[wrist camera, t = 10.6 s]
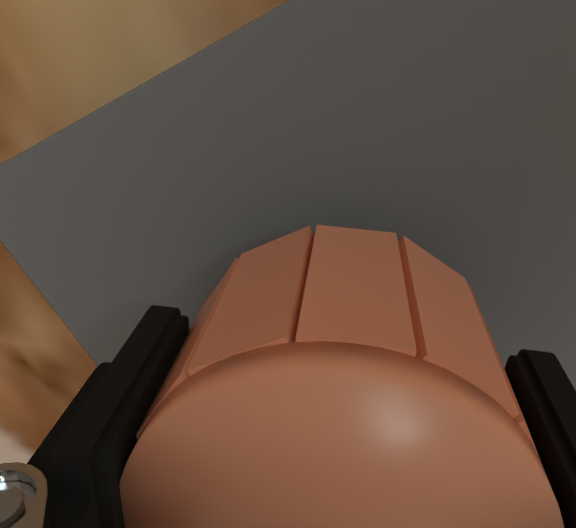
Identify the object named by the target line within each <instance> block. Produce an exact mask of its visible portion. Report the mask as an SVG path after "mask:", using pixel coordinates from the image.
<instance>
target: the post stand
mask: <svg viewBox="0 0 576 528" xmlns="http://www.w3.org/2000/svg"><path fill="white" fill-rule="evenodd" d="M317 225H325V226H335V227H344V228H354V229H364V230H373V231H383V232H393V233H397V239H398V241H399V240H400V239H401V238H402V237H403V236H405V237H407V238H408V239H409V240H411V241H412V242H414V243H415V244H417V245H418V246H420V247H421V248H422V249H424V250H425V251H427V252H428V253H430V254H431V255H433V256H434V257H435V258H437V259H438V260H440V261H441V262H443V263H444V264H446V265H447V266H449V267H450V268H451V269H453V270H454V271H456V272H457V273H459V274H460V275H462V276H463V277H464V278H465V279H466V281H467V284H469V283H470V286H471V288H472V291H473V293H474V296H475V298H476V301H477V303H478V306H479V308H480V311H481V313H482V315H483V318H484V320H485V323H486V325H487V328H488V330H489V333H490V335H491V338H492V340H493V343H494V345H495V348H496V350H497V353H498V355H499V357H500V360H501V362H502V365H503V367H504V368H505V365H506V362H507V360H508V358H509V356H510V355H517V354H518V352H519V351H520V350H522V349H527V350H536V351H544V352H551V353H554V354H555V356H556V357H557V359H558V360H559V362H560V364H561V366H562V368H563V369H564V371H565V373H566V375H567V376H568V378H569V380H570V382H571V383H572V385H573V387H574V389H575V390H576V0H289V1H287V2H285V3H284V4H282V5H280V6H278V7H277V8H275V9H273V10H271V11H270V12H268V13H266V14H264V15H263V16H261V17H259V18H257V19H256V20H254V21H252V22H250V23H248V24H247V25H245V26H243V27H241V28H240V29H238V30H236V31H234V32H233V33H231V34H229V35H227V36H226V37H224V38H222V39H220V40H219V41H217V42H215V43H213V44H212V45H210V46H208V47H206V48H205V49H203V50H201V51H199V52H198V53H196V54H194V55H192V56H190V57H189V58H187V59H185V60H183V61H182V62H180V63H178V64H176V65H175V66H173V67H171V68H169V69H168V70H166V71H164V72H162V73H161V74H159V75H157V76H155V77H154V78H152V79H150V80H148V81H147V82H145V83H143V84H141V85H140V86H138V87H136V88H134V89H132V90H131V91H129V92H127V93H125V94H124V95H122V96H120V97H118V98H117V99H115V100H113V101H111V102H110V103H108V104H106V105H104V106H103V107H101V108H99V109H97V110H96V111H94V112H92V113H90V114H89V115H87V116H85V117H83V118H82V119H80V120H78V121H76V122H74V123H73V124H71V125H69V126H67V127H66V128H64V129H62V130H60V131H59V132H57V133H55V134H53V135H52V136H50V137H48V138H46V139H45V140H43V141H41V142H39V143H38V144H36V145H34V146H32V147H31V148H29V149H27V150H25V151H24V152H22V153H20V154H18V155H17V156H15V157H13V158H11V159H9V160H8V161H6V162H4V163H2V164H1V165H0V241H1V242H2V243H3V244H4V246H5V247H6V248H7V250H8V251H9V252H10V253H11V255H12V256H13V257H14V259H15V260H16V261H17V263H18V264H19V265H20V266H21V268H22V269H23V270H24V272H25V273H26V274H27V275H28V277H29V278H30V279H31V281H32V282H33V283H34V285H35V286H36V287H37V288H38V290H39V291H40V292H41V294H42V295H43V296H44V297H45V299H46V300H47V301H48V303H49V304H50V305H51V306H52V308H53V309H54V310H55V312H56V313H57V314H58V316H59V317H60V318H61V319H62V321H63V322H64V323H65V325H66V326H67V327H68V328H69V330H70V331H71V332H72V334H73V335H74V336H75V338H76V339H77V340H78V341H79V343H80V344H81V345H82V347H83V348H84V349H85V350H86V352H87V353H88V354H89V356H90V357H91V358H92V359H93V361H94V362H95V363H96V365H97V366H99V364H101V363H103V362H110V363H111V362H112V361H113V359H114V358H115V356H116V355H117V354H118V352H119V351H120V349H121V348H122V346H123V345H124V343H125V342H126V341H127V339H128V338H129V336H130V335H131V333H132V332H133V330H134V329H135V327H136V326H137V325H138V323H139V322H140V320H141V319H142V317H143V316H144V314H145V313H146V312H147V310H148V309H149V307H150V306H151V305H158V306H167V307H175V308H179V309H180V312H181V315H184V316H188V319H189V331H190V329H191V327H192V325H193V323H194V321H195V319H196V317H197V315H198V313H199V311H200V309H201V308H202V306H203V305H204V303H205V302H206V300H207V299H208V298H209V296H210V295H211V293H212V292H213V290H214V289H215V288H216V286H217V285H218V283H219V282H220V280H221V279H222V278H223V276H224V275H225V273H226V272H227V270H228V269H229V268H230V266H231V265H232V263H233V262H234V260H235V259H236V258H238V259H239V258H240V256H241V254H242V253H244V252H247V251H249V250H251V249H254V248H256V247H259V246H261V245H264V244H266V243H268V242H271V241H273V240H276V239H278V238H281V237H283V236H285V235H288V234H290V233H293V232H295V231H298V230H300V229H302V228H305V227H307V226H310V228H311V230H312V232H313V234H314V236H315V231H316V226H317Z"/></svg>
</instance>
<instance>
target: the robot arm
mask: <svg viewBox="0 0 576 528" xmlns="http://www.w3.org/2000/svg"><path fill="white" fill-rule="evenodd" d="M188 333H189V319H188V316H184V315H181V312H180V309H179V308H175V307H167V306H158V305H151V306H150V307H149V309H148V310H147V312H146V313H145V314H144V316H143V317H142V319H141V320H140V322H139V323H138V325H137V326H136V327H135V329H134V330H133V332H132V333H131V335H130V336H129V338H128V339H127V341H126V342H125V343H124V345H123V346H122V348H121V349H120V351H119V352H118V354H117V355H116V356H115V358H114V359H113V361H112V362H111V363H110V362H103V363H101V364H99V366H98V367H97V368H96V369H95V370H94V372H93V373H92V374H91V376H90V377H89V378H88V380H87V381H86V383H85V384H84V385H83V387H82V388H81V390H80V391H79V392H78V394H77V395H76V396H75V398H74V399H73V401H72V402H71V403H70V405H69V406H68V408H67V409H66V410H65V412H64V413H63V414H62V416H61V417H60V419H59V420H58V421H57V423H56V424H55V426H54V427H53V428H52V430H51V431H50V432H49V434H48V435H47V437H46V438H45V439H44V441H43V442H42V444H41V445H40V446H39V448H38V449H37V450H36V452H35V453H34V455H33V456H32V457H31V459H30V460H29V462H28V463H27V464H24V463H18V462H17V463H3V464H0V528H125V524H124V517H123V510H122V502H121V495H120V488H119V485H120V479H121V476H122V474H123V471H124V468H125V466H126V463H127V461H128V459H129V457H130V455H131V453H132V451H133V449H134V447H135V445H136V443H137V441H138V439H137V437H136V434H137V432H138V430H139V428H140V426H141V424H142V422H143V420H144V419H145V417H146V415H147V413H148V411H149V409H150V407H151V405H152V403H153V401H154V399H155V397H156V395H157V393H158V391H159V390H160V388H161V386H162V384H163V382H164V380H165V378H166V376H167V374H168V372H169V370H170V368H171V366H172V364H173V362H174V360H175V359H176V357H177V355H178V353H179V351H180V349H181V347H182V345H183V343H184V341H185V339H186V337H187V335H188ZM504 370H505V372H506V375H507V377H508V380H509V382H510V385H511V387H512V390H513V392H514V395H515V397H516V399H517V402H518V404H519V407H520V409H521V412H522V414H523V417H524V419H525V422H526V424H527V427H528V429H529V432H530V435H531V437H532V440H533V442H534V445H535V448H536V450H537V453H538V455H539V458H540V461H541V463H542V466H543V468H544V470H545V473H546V475H547V478H548V480H549V483H550V485H551V488H552V490H553V493H554V495H555V498H556V500H557V503H558V506H559V509H560V513H561V517H562V520H563V524H564V528H576V390H575V389H574V387H573V385H572V383H571V382H570V380H569V378H568V376H567V375H566V373H565V371H564V369H563V368H562V366H561V364H560V362H559V360H558V359H557V357H556V356H555V354H554V353H551V352H544V351H536V350H527V349H522V350H520V351H519V352H518V354H517V355H510V356H509V358H508V360H507V362H506V365H505V368H504Z"/></svg>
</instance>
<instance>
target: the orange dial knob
mask: <svg viewBox="0 0 576 528" xmlns="http://www.w3.org/2000/svg"><path fill="white" fill-rule="evenodd" d="M136 437H137V439H138V441H137V443H136V445H135V447H134V449H133V451H132V453H131V455H130V457H129V459H128V461H127V463H126V466H125V468H124V471H123V474H122V476H121V479H120V485H119V488H120V495H121V502H122V510H123V517H124V524H125V528H564V524H563V520H562V517H561V513H560V509H559V506H558V503H557V500H556V498H555V495H554V493H553V490H552V488H551V485H550V483H549V480H548V478H547V475H546V473H545V470H544V468H543V466H542V463H541V461H540V458H539V455H538V453H537V450H536V448H535V445H534V442H533V440H532V437H531V435H530V432H529V429H528V427H527V424H526V422H525V419H524V417H523V414H522V412H521V409H520V407H519V404H518V402H517V399H516V397H515V395H514V392H513V390H512V387H511V385H510V382H509V380H508V377H507V375H506V372H505V370H504V367H503V365H502V362H501V360H500V357H499V355H498V353H497V350H496V348H495V345H494V343H493V340H492V338H491V335H490V333H489V330H488V328H487V325H486V323H485V320H484V318H483V315H482V313H481V311H480V308H479V306H478V303H477V301H476V298H475V296H474V293H473V291H472V288H471V286H470V283H469V284H467V281H466V279H465V278H464V277H463V276H462V275H460V274H459V273H457V272H456V271H454V270H453V269H451V268H450V267H449V266H447V265H446V264H444V263H443V262H441V261H440V260H438V259H437V258H435V257H434V256H433V255H431V254H430V253H428V252H427V251H425V250H424V249H422V248H421V247H420V246H418V245H417V244H415V243H414V242H412V241H411V240H409V239H408V238H407V237H405V236H403V237H402V238H401V239H400V240H399V241H398V239H397V233H393V232H383V231H373V230H364V229H354V228H344V227H335V226H325V225H317V226H316V231H315V236H314V234H313V232H312V230H311V228H310V226H307V227H305V228H302V229H300V230H298V231H295V232H293V233H290V234H288V235H285V236H283V237H281V238H278V239H276V240H273V241H271V242H268V243H266V244H264V245H261V246H259V247H256V248H254V249H251V250H249V251H247V252H244V253H242V254H241V256H240V258H239V259H238V258H236V259H235V260H234V262H233V263H232V265H231V266H230V268H229V269H228V270H227V272H226V273H225V275H224V276H223V278H222V279H221V280H220V282H219V283H218V285H217V286H216V288H215V289H214V290H213V292H212V293H211V295H210V296H209V298H208V299H207V300H206V302H205V303H204V305H203V306H202V308H201V309H200V311H199V313H198V315H197V317H196V319H195V321H194V323H193V325H192V327H191V329H190V331H189V333H188V335H187V337H186V339H185V341H184V343H183V345H182V347H181V349H180V351H179V353H178V355H177V357H176V359H175V360H174V362H173V364H172V366H171V368H170V370H169V372H168V374H167V376H166V378H165V380H164V382H163V384H162V386H161V388H160V390H159V391H158V393H157V395H156V397H155V399H154V401H153V403H152V405H151V407H150V409H149V411H148V413H147V415H146V417H145V419H144V420H143V422H142V424H141V426H140V428H139V430H138V432H137V434H136Z"/></svg>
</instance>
